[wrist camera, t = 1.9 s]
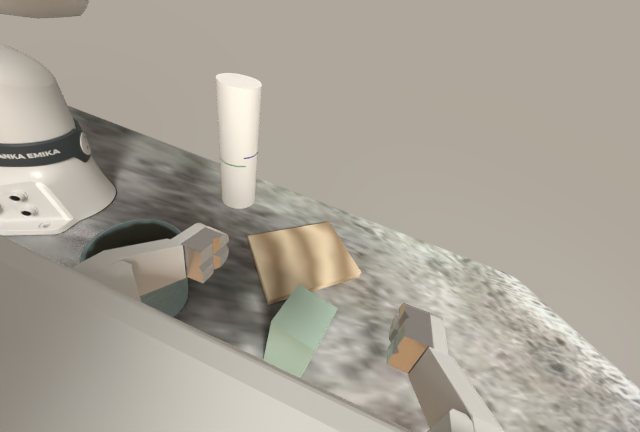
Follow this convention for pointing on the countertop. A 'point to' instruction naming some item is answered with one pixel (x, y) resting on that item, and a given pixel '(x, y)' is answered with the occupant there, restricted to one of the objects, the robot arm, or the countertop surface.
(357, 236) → the countertop surface
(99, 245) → the teal plant pot
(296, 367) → the mint green rectangular block
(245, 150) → the cylindrical container
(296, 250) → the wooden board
